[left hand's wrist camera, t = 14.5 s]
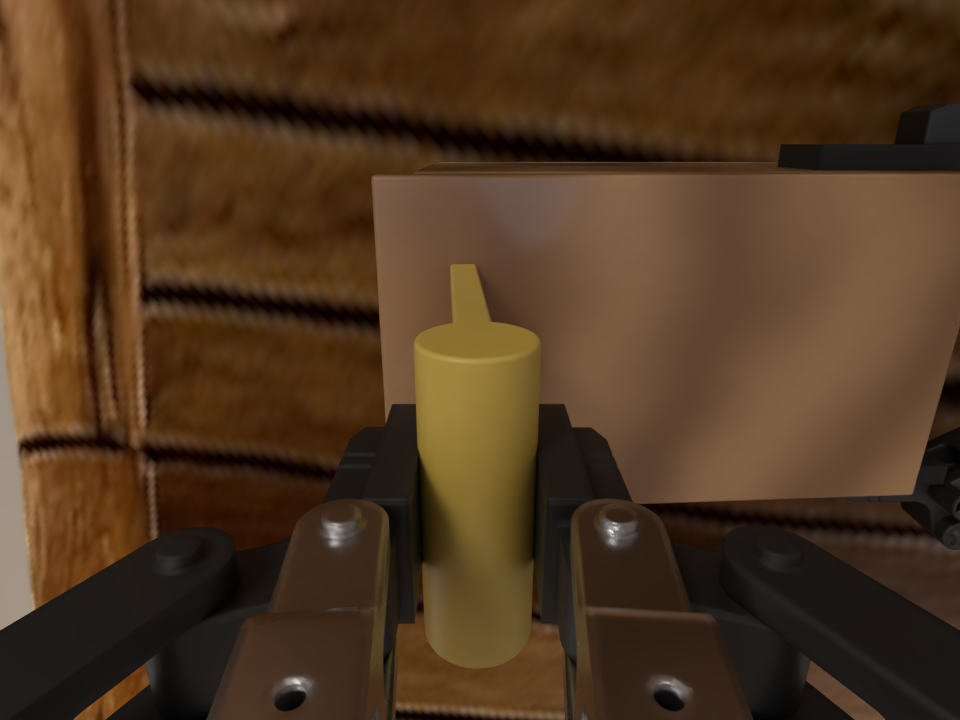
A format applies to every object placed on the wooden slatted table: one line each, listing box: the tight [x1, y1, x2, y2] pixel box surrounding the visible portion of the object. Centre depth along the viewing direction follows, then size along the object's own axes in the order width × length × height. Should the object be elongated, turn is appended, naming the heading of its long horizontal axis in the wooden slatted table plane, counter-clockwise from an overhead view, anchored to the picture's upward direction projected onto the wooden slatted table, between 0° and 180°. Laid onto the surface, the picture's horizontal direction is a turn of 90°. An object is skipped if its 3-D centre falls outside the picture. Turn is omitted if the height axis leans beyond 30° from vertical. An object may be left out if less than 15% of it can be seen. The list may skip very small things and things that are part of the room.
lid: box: [371, 172, 960, 669], centre depth 14 cm, size 17×10×9 cm, turn 90°
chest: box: [414, 162, 960, 173], centre depth 23 cm, size 16×10×9 cm, turn 90°
